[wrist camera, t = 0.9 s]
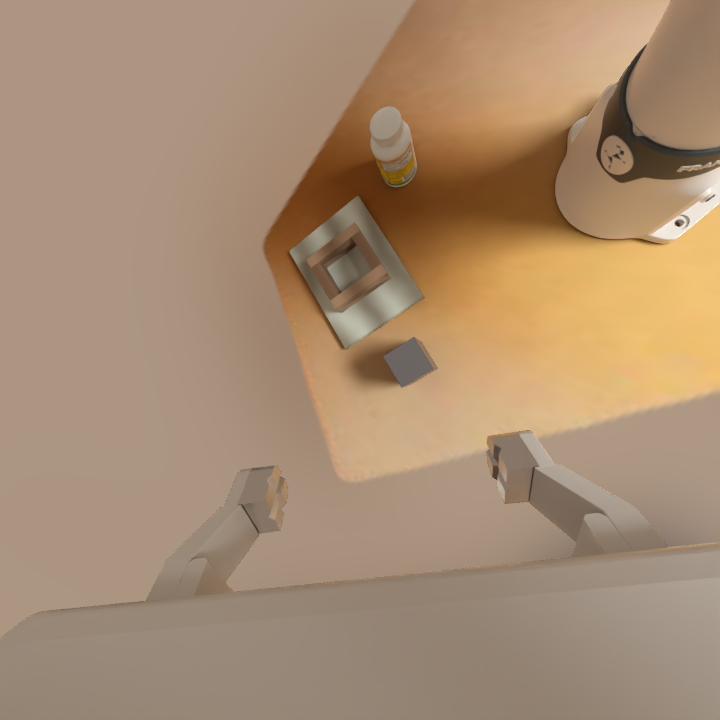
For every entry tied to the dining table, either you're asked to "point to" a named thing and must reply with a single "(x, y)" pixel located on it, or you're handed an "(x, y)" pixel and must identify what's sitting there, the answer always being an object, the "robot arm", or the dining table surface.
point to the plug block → (410, 362)
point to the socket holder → (355, 273)
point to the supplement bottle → (392, 147)
